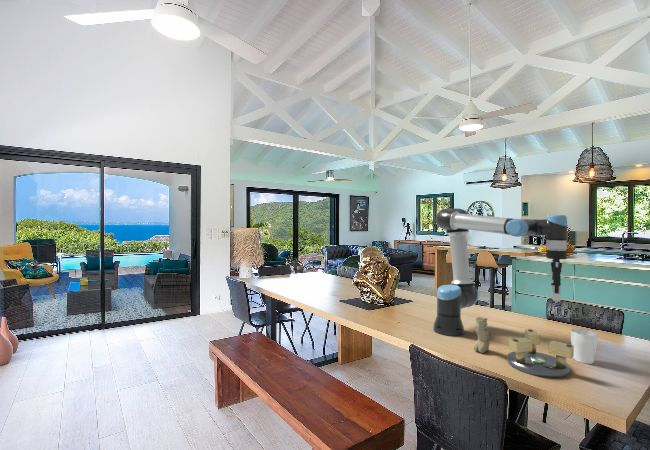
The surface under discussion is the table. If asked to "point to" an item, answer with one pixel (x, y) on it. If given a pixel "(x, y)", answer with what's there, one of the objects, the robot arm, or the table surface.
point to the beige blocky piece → (532, 339)
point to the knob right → (561, 352)
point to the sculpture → (482, 335)
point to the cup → (584, 345)
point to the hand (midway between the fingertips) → (555, 297)
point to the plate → (539, 365)
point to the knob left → (520, 348)
